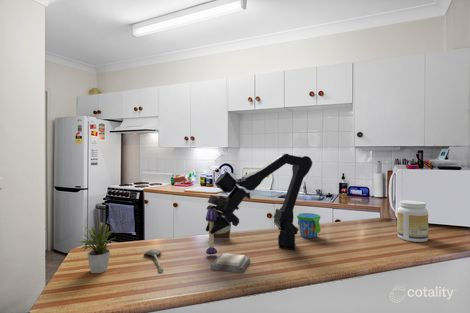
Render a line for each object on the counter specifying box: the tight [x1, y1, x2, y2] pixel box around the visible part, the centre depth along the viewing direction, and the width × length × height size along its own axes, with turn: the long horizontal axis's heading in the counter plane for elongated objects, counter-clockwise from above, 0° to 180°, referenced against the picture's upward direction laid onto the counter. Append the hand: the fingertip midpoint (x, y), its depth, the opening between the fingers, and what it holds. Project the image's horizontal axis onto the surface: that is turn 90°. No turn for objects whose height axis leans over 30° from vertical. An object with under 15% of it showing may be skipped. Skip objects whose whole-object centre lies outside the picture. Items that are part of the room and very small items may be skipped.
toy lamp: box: [205, 209, 218, 255], centre depth 113 cm, size 5×5×17 cm
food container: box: [205, 219, 232, 240], centre depth 139 cm, size 12×6×10 cm, turn 84°
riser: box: [210, 252, 251, 274], centre depth 104 cm, size 11×11×2 cm
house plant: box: [77, 221, 116, 274], centre depth 100 cm, size 14×14×16 cm
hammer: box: [144, 248, 164, 273], centre depth 108 cm, size 22×3×7 cm
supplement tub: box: [396, 199, 429, 243], centre depth 135 cm, size 12×12×17 cm
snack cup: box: [296, 212, 322, 239], centre depth 139 cm, size 16×10×10 cm
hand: (208, 232), depth 113 cm, fingers closed on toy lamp, 4 cm apart
